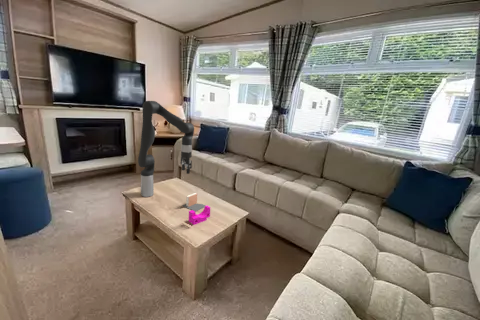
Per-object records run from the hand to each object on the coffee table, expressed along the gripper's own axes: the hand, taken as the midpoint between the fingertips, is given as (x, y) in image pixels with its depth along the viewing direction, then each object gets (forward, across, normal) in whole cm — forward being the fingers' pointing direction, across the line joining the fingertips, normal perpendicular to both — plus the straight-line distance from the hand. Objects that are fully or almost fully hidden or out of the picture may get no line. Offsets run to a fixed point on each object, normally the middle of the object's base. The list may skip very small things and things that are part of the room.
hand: (185, 171), depth 161 cm
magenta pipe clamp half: (+26, +27, 0) cm, 37 cm away
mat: (+26, +6, +6) cm, 28 cm away
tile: (+26, +3, +5) cm, 27 cm away
